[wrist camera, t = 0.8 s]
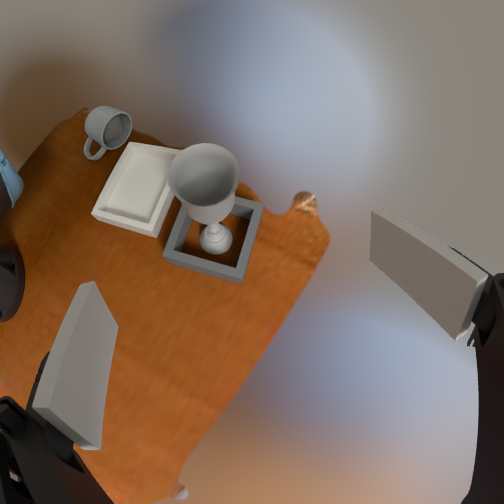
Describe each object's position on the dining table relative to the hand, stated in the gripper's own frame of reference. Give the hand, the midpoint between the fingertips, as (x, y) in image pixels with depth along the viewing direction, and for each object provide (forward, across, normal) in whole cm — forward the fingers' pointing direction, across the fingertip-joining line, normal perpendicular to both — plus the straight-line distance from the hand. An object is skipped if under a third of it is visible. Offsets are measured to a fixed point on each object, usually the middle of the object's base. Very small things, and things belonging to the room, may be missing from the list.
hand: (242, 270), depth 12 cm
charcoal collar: (+28, 0, -11) cm, 30 cm away
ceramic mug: (+47, -18, +8) cm, 51 cm away
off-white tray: (+37, -11, -2) cm, 38 cm away
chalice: (+28, 0, -11) cm, 31 cm away
